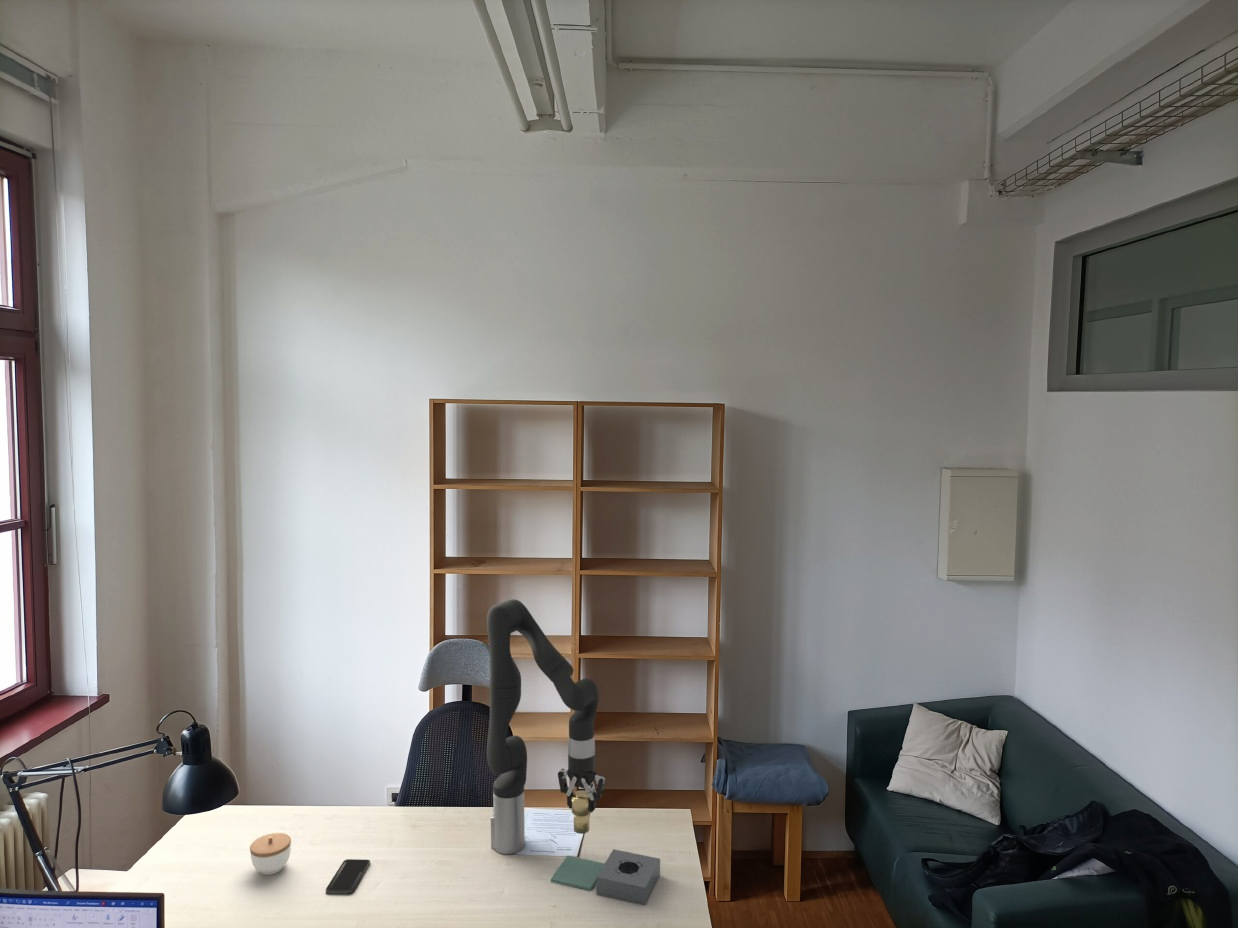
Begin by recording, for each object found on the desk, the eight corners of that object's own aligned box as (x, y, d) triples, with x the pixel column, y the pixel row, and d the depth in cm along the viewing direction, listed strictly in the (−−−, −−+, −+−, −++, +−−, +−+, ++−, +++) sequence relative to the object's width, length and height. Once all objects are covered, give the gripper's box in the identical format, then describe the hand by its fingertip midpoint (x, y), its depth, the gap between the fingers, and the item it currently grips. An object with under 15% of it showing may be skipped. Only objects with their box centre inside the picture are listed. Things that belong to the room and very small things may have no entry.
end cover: (568, 832, 222) (568, 798, 221) (576, 822, 228) (576, 788, 227) (587, 836, 220) (587, 801, 220) (594, 825, 226) (594, 792, 225)
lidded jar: (270, 854, 235) (269, 824, 234) (299, 861, 231) (298, 831, 230) (242, 875, 225) (241, 843, 224) (272, 883, 221) (271, 851, 220)
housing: (596, 894, 216) (596, 876, 216) (613, 865, 230) (613, 848, 229) (645, 905, 212) (645, 887, 211) (660, 875, 225) (660, 858, 225)
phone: (324, 891, 216) (344, 858, 231) (324, 895, 216) (344, 862, 231) (353, 891, 216) (371, 859, 231) (353, 895, 216) (371, 863, 231)
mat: (550, 881, 222) (550, 878, 222) (567, 857, 233) (567, 855, 233) (590, 890, 218) (590, 887, 218) (605, 865, 229) (605, 863, 229)
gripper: (552, 753, 221) (552, 811, 222) (600, 761, 216) (600, 820, 218) (563, 741, 228) (563, 798, 229) (610, 749, 223) (610, 806, 225)
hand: (581, 808), depth 224 cm, fingers closed on end cover, 5 cm apart
